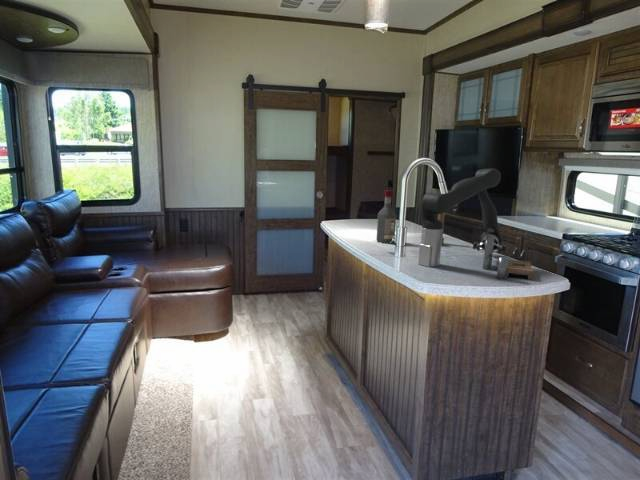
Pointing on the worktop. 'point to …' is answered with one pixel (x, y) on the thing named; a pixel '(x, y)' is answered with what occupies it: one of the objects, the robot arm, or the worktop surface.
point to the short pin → (502, 268)
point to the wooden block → (441, 218)
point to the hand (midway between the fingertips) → (488, 249)
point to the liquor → (386, 221)
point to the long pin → (488, 252)
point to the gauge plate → (519, 268)
